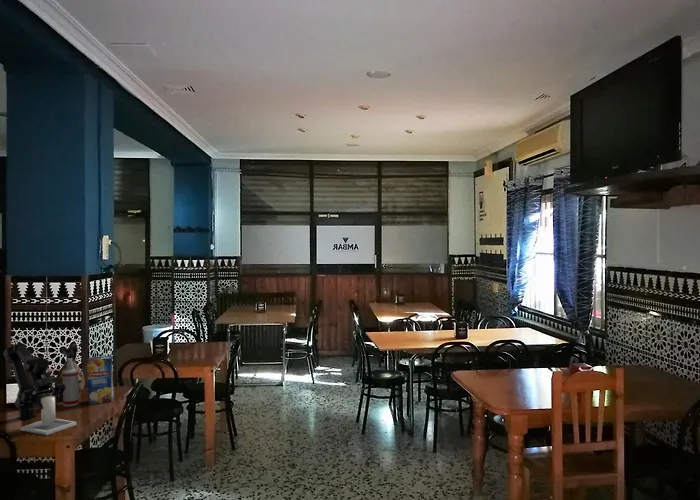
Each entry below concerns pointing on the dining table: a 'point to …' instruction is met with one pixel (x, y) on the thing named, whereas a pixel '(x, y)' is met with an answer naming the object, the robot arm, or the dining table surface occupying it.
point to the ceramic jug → (72, 354)
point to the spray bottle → (70, 385)
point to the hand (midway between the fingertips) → (49, 407)
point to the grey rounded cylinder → (48, 409)
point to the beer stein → (33, 385)
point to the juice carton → (100, 379)
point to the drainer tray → (48, 426)
